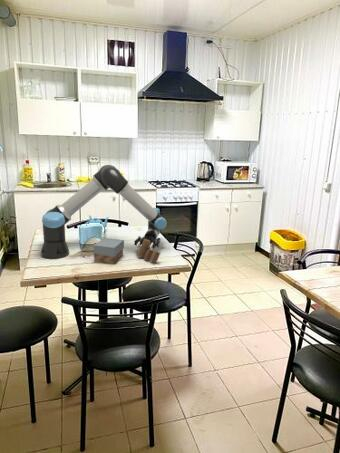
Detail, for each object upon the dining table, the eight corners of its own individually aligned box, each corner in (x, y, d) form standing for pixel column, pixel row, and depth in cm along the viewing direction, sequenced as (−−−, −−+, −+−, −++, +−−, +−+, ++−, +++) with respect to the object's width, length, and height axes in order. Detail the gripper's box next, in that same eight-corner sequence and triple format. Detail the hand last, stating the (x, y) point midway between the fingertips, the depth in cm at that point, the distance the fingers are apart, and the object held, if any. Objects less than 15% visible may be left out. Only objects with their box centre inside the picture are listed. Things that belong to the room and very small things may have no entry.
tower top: (93, 253, 186) (93, 245, 185) (104, 245, 199) (104, 237, 198) (114, 256, 183) (114, 247, 182) (123, 248, 196) (123, 239, 195)
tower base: (94, 263, 187) (94, 254, 185) (103, 254, 200) (102, 246, 199) (115, 265, 185) (115, 256, 184) (122, 256, 198) (122, 247, 197)
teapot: (81, 234, 235) (81, 219, 232) (90, 228, 249) (89, 214, 246) (102, 236, 232) (101, 221, 230) (109, 229, 247) (109, 216, 244)
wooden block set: (157, 266, 189) (164, 249, 188) (144, 263, 185) (151, 246, 183) (146, 254, 205) (152, 239, 203) (133, 251, 200) (140, 235, 199)
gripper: (166, 242, 215) (161, 255, 193) (135, 240, 217) (126, 253, 195) (166, 231, 213) (161, 243, 191) (135, 229, 215) (126, 240, 193)
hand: (143, 248), depth 193 cm, fingers open, 7 cm apart
